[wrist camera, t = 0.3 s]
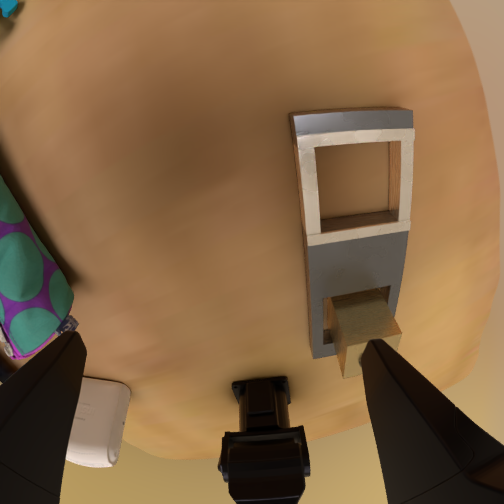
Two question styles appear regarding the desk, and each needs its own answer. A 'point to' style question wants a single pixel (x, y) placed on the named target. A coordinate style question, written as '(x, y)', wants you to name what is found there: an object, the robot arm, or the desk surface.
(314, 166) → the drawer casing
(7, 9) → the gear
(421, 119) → the desk surface
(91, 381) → the photo printer
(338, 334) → the wooden pull-out drawer
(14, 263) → the pencil case
